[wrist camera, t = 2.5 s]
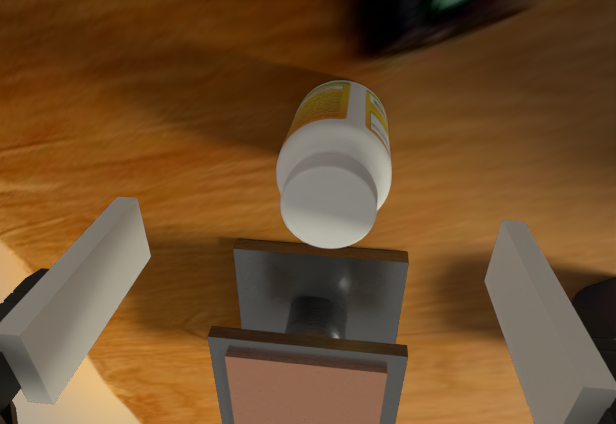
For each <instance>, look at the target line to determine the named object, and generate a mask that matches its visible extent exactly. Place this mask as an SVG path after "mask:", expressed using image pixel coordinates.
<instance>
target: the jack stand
mask: <svg viewBox="0 0 616 424" xmlns="http://www.w3.org/2000/svg"><path fill="white" fill-rule="evenodd" d="M233 252H234V262H235V271H236V280H237V290H238V299H239V308H240V318H241V327H242V329H237V328H227V327H217V326H212V327H211V330H210V332H209V334H208V342H209V348H210V354H211V360H212V366H213V372H214V378H215V384H216V390H217V396H218V401H219V407H220V413H221V419H222V424H395V422H396V417H397V412H398V406H399V401H400V396H401V391H402V386H403V381H404V375H405V370H406V365H407V360H408V351H407V345H400V344H395V343H396V337H397V331H398V325H399V319H400V313H401V307H402V301H403V295H404V289H405V283H406V277H407V271H408V265H409V261H408V252H401V251H388V250H376V249H363V248H350V247H342V248H334V249H329V248H320V247H316V246H312V245H310V244H299V243H286V242H273V241H260V240H247V239H237V241H236V243H235V246H234V248H233Z"/></svg>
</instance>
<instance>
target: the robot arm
mask: <svg viewBox="0 0 616 424" xmlns="http://www.w3.org/2000/svg"><path fill="white" fill-rule="evenodd" d="M150 257H151V255H150V251H149V246H148V242H147V238H146V234H145V229H144V225H143V221H142V217H141V212H140V208H139V204H138V200H137V198H128V197H117V198H116V199H115V200H114V201H113V202H112V203H111V204H110V205H109V206H108V207H107V208H106V210H105V211H104V212H103V213H102V214H101V215H100V216H99V217H98V218H97V219H96V220H95V221H94V222H93V223H92V225H91V226H90V227H89V228H88V229H87V230H86V231H85V232H84V233H83V234H82V235H81V236H80V237H79V238H78V240H77V241H76V242H75V243H74V244H73V245H72V246H71V247H70V248H69V249H68V250H67V251H66V252H65V253H64V255H63V256H62V257H61V258H60V259H59V260H58V261H57V262H56V263H55V264H54V265H53V266H52V267H51V268H50V269H43V268H41V269H40V270H38V271H37V272H35V273H33V274H32V275H30V276H29V277H27V278H25V279H24V280H23V281H22V282H21V283H20V284H19V285H18V286H17V287H16V288H15V289H14V291H13V293H11V294H10V295H9V296H8V297H7V298H6V299H5V300H4V302H3V303H1V304H0V424H18V421H17V413H16V407H15V405H14V403H13V402H12V399H13V398H14V397H15V395H16V394H17V393H18V391H19V390H20V389H21V390H22V392H23V394H24V395H25V397H26V399H27V401H28V402H35V403H45V404H55V402H56V401H57V399H58V398H59V396H60V394H61V393H62V391H63V390H64V388H65V387H66V385H67V384H68V382H69V381H70V379H71V378H72V376H73V375H74V373H75V372H76V370H77V369H78V367H79V366H80V364H81V362H82V361H83V359H84V358H85V356H86V355H87V353H88V352H89V350H90V349H91V347H92V346H93V344H94V343H95V341H96V340H97V338H98V337H99V335H100V334H101V332H102V331H103V329H104V327H105V326H106V324H107V323H108V321H109V320H110V318H111V317H112V315H113V314H114V312H115V311H116V309H117V308H118V306H119V305H120V303H121V302H122V300H123V299H124V297H125V295H126V294H127V292H128V291H129V289H130V288H131V286H132V285H133V283H134V282H135V280H136V279H137V277H138V276H139V274H140V273H141V271H142V270H143V268H144V267H145V265H146V263H147V262H148V260H149V259H150ZM484 281H485V284H486V287H487V290H488V293H489V296H490V298H491V301H492V304H493V307H494V310H495V313H496V315H497V318H498V321H499V324H500V327H501V330H502V332H503V335H504V338H505V341H506V344H507V347H508V350H509V352H510V355H511V358H512V361H513V364H514V367H515V369H516V372H517V375H518V378H519V381H520V384H521V386H522V389H523V392H524V395H525V398H526V401H527V403H528V406H529V409H530V412H531V415H532V418H533V421H534V423H535V424H616V335H615V333H614V332H613V330H612V328H611V327H610V325H609V324H608V323H607V322H606V321H605V320H604V319H603V318H601V317H600V316H599V315H598V314H597V313H596V312H595V311H593V310H592V309H579V308H574V307H573V306H572V304H571V302H570V300H569V298H568V297H567V295H566V293H565V291H564V290H563V288H562V286H561V284H560V283H559V281H558V279H557V277H556V276H555V274H554V272H553V270H552V268H551V267H550V265H549V263H548V261H547V260H546V258H545V256H544V254H543V253H542V251H541V249H540V247H539V246H538V244H537V242H536V240H535V238H534V237H533V235H532V233H531V231H530V230H529V228H528V226H527V224H526V223H525V222H522V221H506V220H502V222H501V226H500V229H499V232H498V236H497V239H496V243H495V246H494V249H493V253H492V256H491V260H490V263H489V267H488V270H487V273H486V277H485V280H484Z"/></svg>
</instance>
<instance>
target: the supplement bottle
mask: <svg viewBox="0 0 616 424" xmlns="http://www.w3.org/2000/svg"><path fill="white" fill-rule="evenodd" d="M391 177H392V165H391V155H390V144H389V133H388V123H387V117H386V113H385V110H384V107H383V105H382V103H381V101H380V100H379V99H378V97H377V96H376V95H375V94H374V93H373V92H372V91H371V90H369V89H368V88H367V87H365V86H363V85H361V84H359V83H356V82H352V81H346V80H337V81H331V82H327V83H324V84H322V85H319V86H318V87H316V88H314V89H313V90H312V91H311V92H309V93H308V94H307V96H306V97H305V98H304V99H303V101H302V102H301V104H300V106H299V108H298V110H297V112H296V114H295V117H294V119H293V122H292V124H291V127H290V129H289V131H288V134H287V136H286V138H285V141H284V143H283V146H282V148H281V151H280V154H279V157H278V161H277V167H276V178H277V185H278V189H279V191H280V194H281V200H280V210H281V215H282V218H283V220H284V222H285V224H286V226H287V227H288V229H289V230H290V231H291V232H292V233H293V234H294V235H295V236H296V237H297V238H299V239H300V240H302V241H303V242H305V243H308V244H310V245H312V246H316V247H320V248H329V249H334V248H342V247H346V246H349V245H352V244H354V243H356V242H357V241H359V240H361V239H362V238H363V237H364V236H365V235H366V234H367V233H368V232H369V231H370V229H371V228H372V226H373V224H374V222H375V219H376V215H377V211H378V209H379V208H380V207H381V206H382V204H383V203H384V202H385V200H386V198H387V196H388V193H389V190H390V186H391Z"/></svg>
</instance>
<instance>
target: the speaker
mask: <svg viewBox="0 0 616 424" xmlns="http://www.w3.org/2000/svg"><path fill="white" fill-rule="evenodd" d="M572 306H573V307H574V308H579V309H592V310H593V311H595V312H596V313H597V314H598V315H599V316H600V317H601V318H603V319H604V320H605V321H606V322H607V323H608V324H609V325H610V327H611V328H612V330H613V332H614V333H615V335H616V279H614V278H613V279H610V280H607V281H604V282H601V283H598V284H594V285H591V286H588V287H585V288H584V289H583V290H581V291H580V292H579V293H578V294H577V295H575V297H574V300H573V303H572Z"/></svg>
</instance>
